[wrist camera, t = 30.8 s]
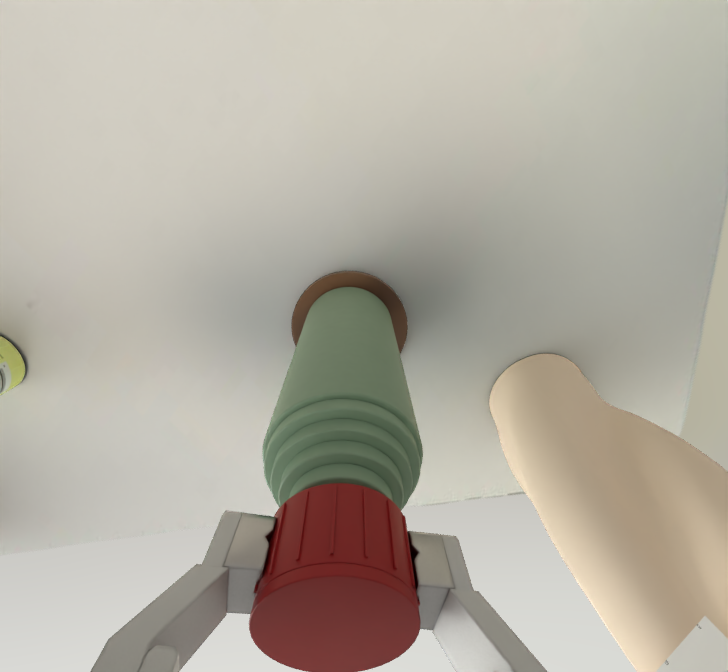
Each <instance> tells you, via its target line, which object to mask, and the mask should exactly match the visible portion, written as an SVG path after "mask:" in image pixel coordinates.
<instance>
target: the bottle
mask: <svg viewBox="0 0 728 672" xmlns="http://www.w3.org/2000/svg"><path fill="white" fill-rule="evenodd" d="M262 456H263V463H264V474H265V479H266V482H267V485H268V487H269V489H270V491H271V492H272V494H273V497H274V499H275V501H276V503H277V504H278V506H279V507H281V506H282V505H283V503H284V502H286V501H287V500H288V499H289V498H291V497H292V496H294V495H295V494H297V493H299V492H301V491H303V490H305V489H308V488H311V487H314V486H318V485H323V484H331V483H347V484H355V485H360V486H364V487H368V488H371V489H373V490H376V491H378V492H380V493H382V494H384V495H385V496H386V497H388V498H389V499H391V500H392V501H393V502H394V503H395V504H396V505H397V507H398V508H399V509H400V510H402V509H403V507H404V506H405V504H406V503H407V501H408V499H409V497H410V496H411V494H412V493H413V491H414V489H415V487H416V485H417V483H418V479H419V476H420V468H421V464H422V457H423V451H422V443H421V439H420V435H419V431H418V427H417V423H416V419H415V415H414V411H413V406H412V402H411V398H410V394H409V390H408V386H407V382H406V378H405V374H404V369H403V365H402V361H401V357H400V353H399V349H398V345H397V341H396V337H395V333H394V328H393V324H392V320H391V316H390V313H389V311H388V309H387V307H386V306H385V304H384V303H383V302H382V301H381V300H380V299H379V298H378V297H377V296H375V295H374V294H372V293H371V292H369V291H366V290H364V289H361V288H356V287H341V288H336V289H333V290H331V291H328V292H326V293H325V294H323V295H322V296H320V297H319V298H318V299H317V300H316V301H315V302H314V303H313V305H312V306H311V308H310V310H309V312H308V314H307V317H306V320H305V323H304V326H303V329H302V332H301V335H300V337H299V340H298V343H297V346H296V349H295V352H294V355H293V358H292V361H291V364H290V367H289V369H288V372H287V375H286V378H285V381H284V384H283V387H282V390H281V393H280V396H279V398H278V401H277V404H276V407H275V410H274V413H273V416H272V419H271V422H270V425H269V427H268V430H267V433H266V436H265V439H264V444H263V455H262Z"/></svg>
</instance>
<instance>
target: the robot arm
mask: <svg viewBox="0 0 728 672" xmlns="http://www.w3.org/2000/svg"><path fill="white" fill-rule="evenodd" d="M275 522H276V517H271V516H263V515H256V514H249V513H241V512H233V511H225V512H224V514H223V515H222V517H221V520H220V522H219V524H218V527H217V529H216V532H215V534H214V537H213V539H212V541H211V544H210V546H209V549H208V551H207V554H206V556H205V558H204V561H203V563H202V565H201V564H196V565H195V566H194V567H193V568H191V569H190V570H189V571H188V572H187V573H186V574H185V575H184V576H182V577H181V578H180V579H179V580H177V581H176V582H175V583H174V584H173V585H172V586H170V587H169V588H168V589H167V590H166V591H165V592H163V593H162V594H161V595H160V596H159V597H157V598H156V599H155V600H154V601H153V602H152V603H150V604H149V605H148V606H147V607H146V608H145V609H143V610H142V611H141V612H140V613H139V614H137V615H136V616H135V617H134V618H133V619H132V620H131V621H129V622H128V623H127V624H126V625H125V626H123V627H122V628H121V629H120V630H119V631H118V632H116V633H115V634H114V635H113V636H112V637H111V638H109V639H108V641H107V643H106V645H105V646H104V648H103V650H102V652H101V654H100V656H99V658H98V659H97V661H96V663H95V664H94V666H93V668H92V670H91V672H179V671H180V670H181V668H182V667H183V666H184V665H185V664H186V662H187V661H188V660H189V659H190V658H191V656H192V655H193V654H194V653H195V652H196V651H197V649H198V648H199V647H200V646H201V645H202V643H203V642H204V641H205V640H206V639H207V637H208V636H209V635H210V634H211V633H212V631H213V630H214V629H215V628H216V627H217V625H218V624H219V623H220V622H221V621H222V619H223V618H224V617H225V616H226V613H245V614H251V610H252V606H253V602H254V598H255V593H254V588H255V585H256V584H257V585H258V584H259V582H260V581H261V579H262V577H263V573H264V569H265V564H266V560H267V556H268V552H269V541H270V539H271V537H272V535H273V530H274V526H275ZM407 533H408V540H409V547H410V553H411V560H412V564H413V565H412V567H413V573H414V580H415V587H416V593H417V600H420V606H418V607H419V613H420V620H421V624H420V629H427V630H433V634H434V635H435V637H436V639H437V640H438V642H439V644H440V646H441V647H442V649H443V651H444V652H445V654H446V656H447V657H448V659H449V661H450V662H451V664H452V666H453V668H454V669H455V671H456V672H547V671H546V670H545V668H544V667H543V666H542V665H541V664H540V662H539V661H538V660H537V659H536V658H535V657H534V655H533V654H532V653H531V652H530V651H529V650H528V648H527V647H526V646H525V645H524V644H523V643H522V641H521V640H520V639H519V638H518V637H517V636H516V635H515V633H514V632H513V631H512V630H511V629H510V628H509V626H508V625H507V624H506V623H505V622H504V621H503V620H502V618H501V617H500V616H499V615H498V614H497V613H496V611H495V610H494V609H493V608H492V607H491V605H490V604H489V603H488V602H487V601H486V600H485V599H484V597H483V596H482V595H481V594H480V593H479V592H478V591H474V590H473V587H472V584H471V580H470V577H469V574H468V570H467V567H466V564H465V560H464V557H463V554H462V550H461V547H460V544H459V540H458V539H457V537H456V536H450V535H441V534H440V535H439V534H434V533H424V532H413V531H408V532H407Z"/></svg>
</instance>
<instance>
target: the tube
mask: <svg viewBox="0 0 728 672" xmlns="http://www.w3.org/2000/svg"><path fill="white" fill-rule="evenodd" d="M24 375H25V365H24V361H23V359H22V357H21V355H20V353H19V352H18V350H17V349H16V348H15V347H14V346H13V345H12V344H11V343H10V342H9V341H7V340H6V339H5V338H3V337H1V336H0V395H2V394H4V393H5V392H7V391H9V390H10V389H12V388H13V387H15V386H17V385H18V384H19V383H20V382H21V381H22V380H23V378H24Z"/></svg>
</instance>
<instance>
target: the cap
mask: <svg viewBox="0 0 728 672" xmlns="http://www.w3.org/2000/svg"><path fill="white" fill-rule="evenodd" d="M274 517H276V522H275V526H274V530H273V535H272V537H271V539H270V541H269V552H268V556H267V560H266V564H265V569H264V573H263V577H262V579H261V581H260V582H259V584H258V585H257V584H256V585H255V588H254V593H255V598H254V602H253V606H252V610H251V615H250V620H249V630H250V634H251V637H252V639H253V641H254V643H255V644H256V645H257V646H258V648H259V649H260V650H261V651H262V652H263V653H264V654H266V655H267V656H269V657H270V658H272V659H273V660H276V661H277V662H279V663H281V664H284V665H286V666H289V667H292V668H295V669H299V670H303V671H308V672H358V671H363V670H368V669H371V668H375V667H378V666H381V665H383V664H385V663H388V662H390V661H392V660H394V659H395V658H397V657H399V656H400V655H401V654H403V653H404V652H405V651H406V650H407V649H409V648H410V646H411V645H412V644H413V643H414V642H415V640H416V638H417V636H418V634H419V630H420V624H421V620H420V613H419V607H418V606H420V600H417V593H416V587H415V580H414V573H413V567H412V565H413V564H412V560H411V553H410V547H409V540H408V533H407V527H406V520H405V516H403V514H402V512H401V510H400V509H399V508H398V507H397V505H396V504H395V503H394V502H393V501H392V500H391V499H389V498H388V497H386V496H385V495H384V494H382V493H380V492H378V491H376V490H373V489H371V488H368V487H364V486H360V485H355V484H347V483H331V484H323V485H318V486H314V487H311V488H308V489H305V490H303V491H301V492H299V493H297V494H295V495H294V496H292V497H291V498H289V499H288V500H287V501H286V502H284V503H283V505H282V506H281V507H280V508H279V509H278V511H277V512H276V514H275V516H274Z"/></svg>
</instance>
